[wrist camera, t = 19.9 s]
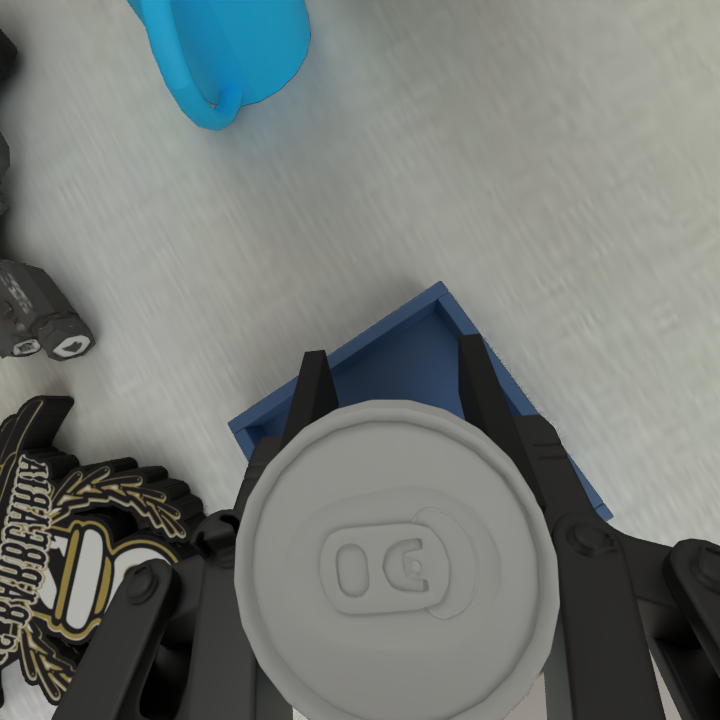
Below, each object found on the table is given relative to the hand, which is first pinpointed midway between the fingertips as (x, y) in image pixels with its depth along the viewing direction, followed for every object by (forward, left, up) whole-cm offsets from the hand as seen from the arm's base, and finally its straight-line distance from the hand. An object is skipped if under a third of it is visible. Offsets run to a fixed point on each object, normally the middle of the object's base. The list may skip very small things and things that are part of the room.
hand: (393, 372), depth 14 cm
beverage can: (-3, +2, -4) cm, 5 cm away
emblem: (+7, +25, -3) cm, 26 cm away
